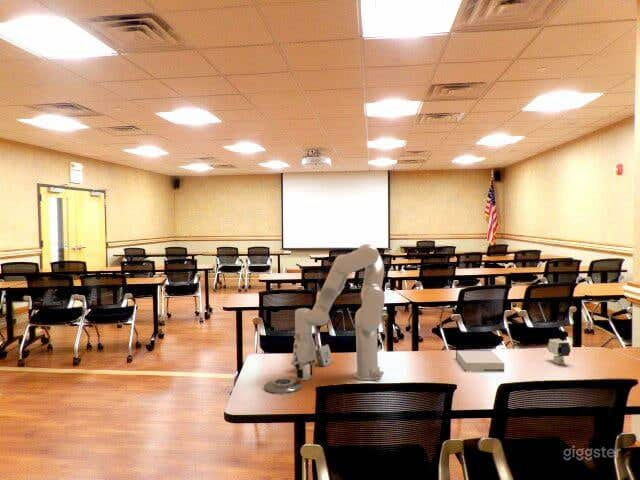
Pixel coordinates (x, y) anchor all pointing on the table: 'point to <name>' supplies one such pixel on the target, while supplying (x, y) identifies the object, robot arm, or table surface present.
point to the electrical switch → (324, 356)
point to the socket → (283, 386)
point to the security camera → (558, 349)
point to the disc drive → (479, 361)
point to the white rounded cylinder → (305, 371)
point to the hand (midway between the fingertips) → (304, 375)
